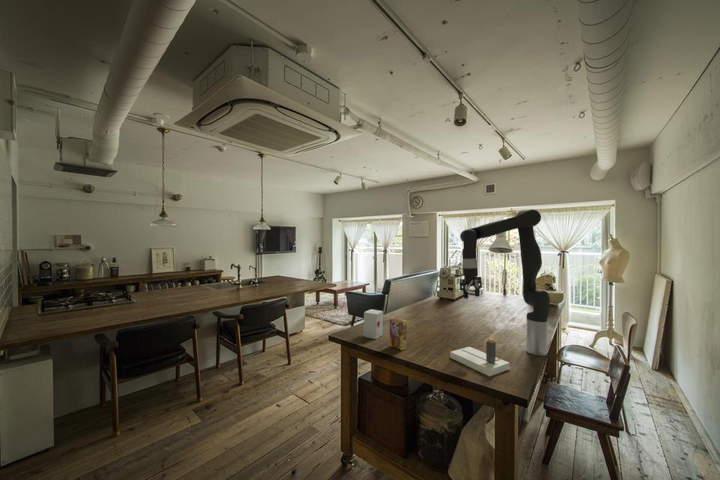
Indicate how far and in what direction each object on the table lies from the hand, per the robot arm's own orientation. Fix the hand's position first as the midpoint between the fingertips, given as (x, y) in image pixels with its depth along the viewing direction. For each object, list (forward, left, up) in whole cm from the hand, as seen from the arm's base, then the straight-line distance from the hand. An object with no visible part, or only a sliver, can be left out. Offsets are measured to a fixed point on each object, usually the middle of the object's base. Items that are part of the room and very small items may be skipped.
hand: (471, 297), depth 150 cm
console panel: (+10, +12, -28) cm, 32 cm away
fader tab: (+10, +19, -25) cm, 33 cm away
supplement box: (+34, -44, -29) cm, 62 cm away
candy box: (+32, -22, -29) cm, 48 cm away
